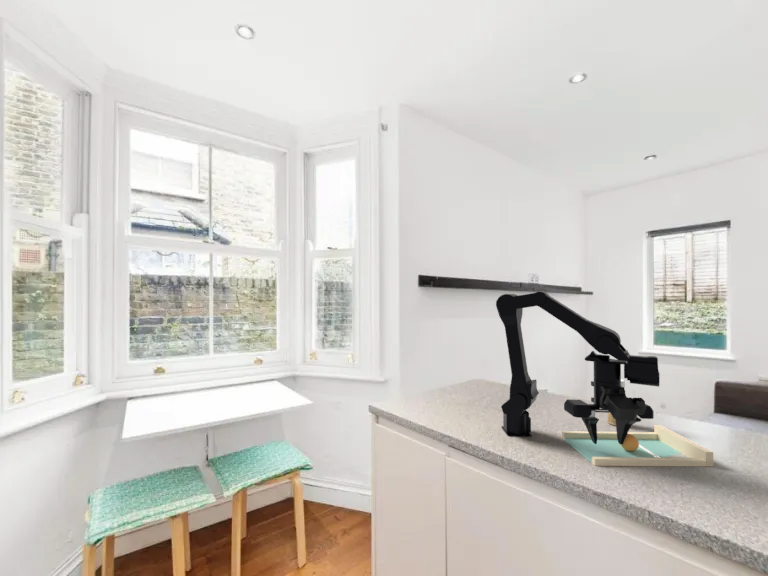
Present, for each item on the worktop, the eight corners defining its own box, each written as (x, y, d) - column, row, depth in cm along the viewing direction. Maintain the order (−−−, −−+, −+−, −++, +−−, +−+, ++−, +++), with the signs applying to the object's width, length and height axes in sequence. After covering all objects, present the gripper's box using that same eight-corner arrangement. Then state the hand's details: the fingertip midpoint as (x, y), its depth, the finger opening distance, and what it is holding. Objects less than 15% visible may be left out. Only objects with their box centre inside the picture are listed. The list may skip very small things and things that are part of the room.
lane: (594, 467, 80) (594, 450, 80) (562, 438, 95) (562, 423, 95) (713, 470, 79) (713, 452, 79) (660, 439, 94) (660, 425, 95)
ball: (623, 451, 85) (628, 435, 85) (613, 443, 89) (618, 428, 89) (639, 456, 85) (645, 440, 85) (628, 448, 89) (633, 433, 89)
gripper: (585, 388, 80) (586, 457, 79) (670, 389, 79) (671, 459, 78) (562, 376, 91) (563, 437, 91) (637, 377, 90) (638, 439, 90)
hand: (607, 443), depth 87 cm, fingers open, 6 cm apart
